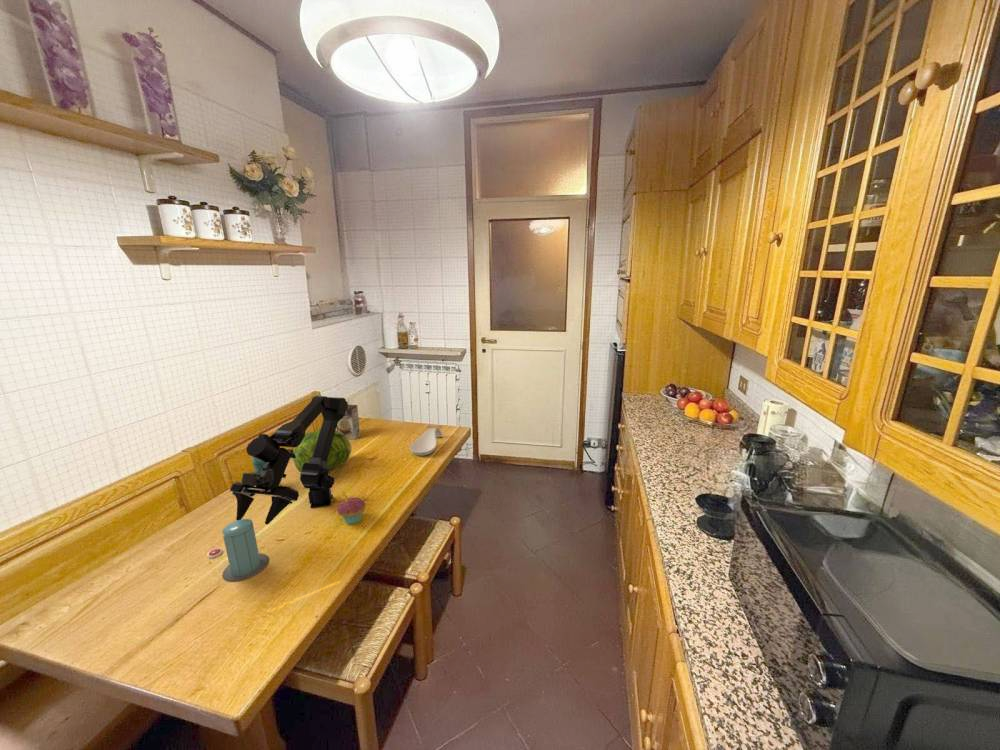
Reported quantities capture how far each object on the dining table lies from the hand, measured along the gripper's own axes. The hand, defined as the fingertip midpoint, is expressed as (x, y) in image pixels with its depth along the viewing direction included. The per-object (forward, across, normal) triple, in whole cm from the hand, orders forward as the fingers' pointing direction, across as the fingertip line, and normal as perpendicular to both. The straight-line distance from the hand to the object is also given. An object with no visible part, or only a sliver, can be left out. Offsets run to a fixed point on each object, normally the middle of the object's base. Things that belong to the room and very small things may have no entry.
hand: (252, 522), depth 111 cm
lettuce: (-29, -14, +45) cm, 55 cm away
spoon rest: (-48, +20, +63) cm, 82 cm away
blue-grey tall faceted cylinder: (+11, 0, +5) cm, 12 cm away
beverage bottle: (-16, -27, +32) cm, 45 cm away
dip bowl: (+9, -14, +7) cm, 18 cm away
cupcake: (-7, +17, +23) cm, 29 cm away
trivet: (+11, 0, +5) cm, 12 cm away
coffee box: (-52, -24, +67) cm, 88 cm away
